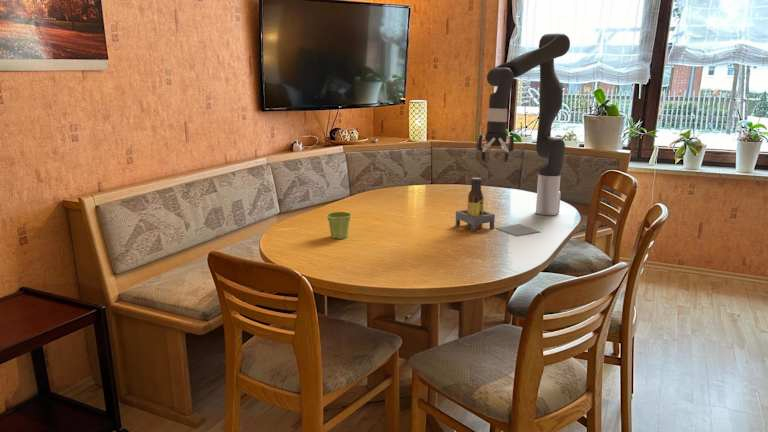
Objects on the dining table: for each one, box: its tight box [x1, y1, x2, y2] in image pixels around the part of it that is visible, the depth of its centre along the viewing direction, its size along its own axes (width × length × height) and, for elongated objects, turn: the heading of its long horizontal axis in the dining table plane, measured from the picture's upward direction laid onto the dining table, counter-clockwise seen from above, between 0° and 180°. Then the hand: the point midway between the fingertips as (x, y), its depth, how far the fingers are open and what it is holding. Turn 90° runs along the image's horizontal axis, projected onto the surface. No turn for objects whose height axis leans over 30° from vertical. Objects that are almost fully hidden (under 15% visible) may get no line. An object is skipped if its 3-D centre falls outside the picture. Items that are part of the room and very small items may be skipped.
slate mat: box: [495, 223, 541, 237], centre depth 226 cm, size 12×12×1 cm
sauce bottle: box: [466, 177, 485, 230], centre depth 228 cm, size 6×6×20 cm
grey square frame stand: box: [455, 209, 496, 233], centre depth 230 cm, size 10×11×6 cm
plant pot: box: [325, 211, 352, 240], centre depth 216 cm, size 9×9×9 cm
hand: (494, 161), depth 230 cm, fingers open, 8 cm apart
